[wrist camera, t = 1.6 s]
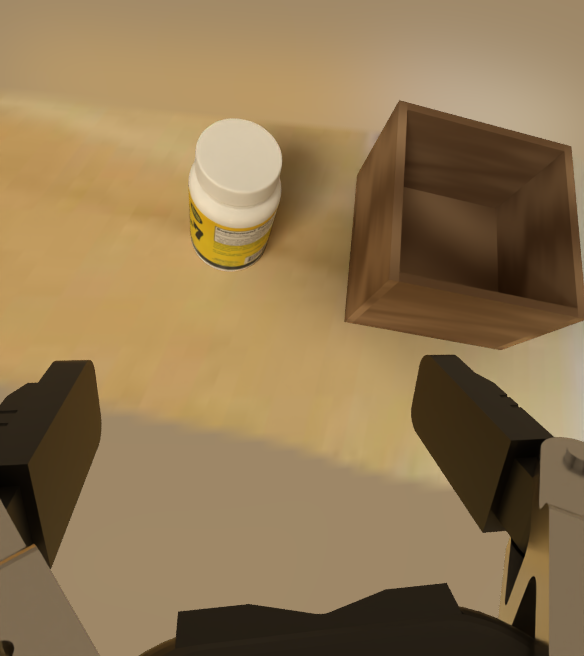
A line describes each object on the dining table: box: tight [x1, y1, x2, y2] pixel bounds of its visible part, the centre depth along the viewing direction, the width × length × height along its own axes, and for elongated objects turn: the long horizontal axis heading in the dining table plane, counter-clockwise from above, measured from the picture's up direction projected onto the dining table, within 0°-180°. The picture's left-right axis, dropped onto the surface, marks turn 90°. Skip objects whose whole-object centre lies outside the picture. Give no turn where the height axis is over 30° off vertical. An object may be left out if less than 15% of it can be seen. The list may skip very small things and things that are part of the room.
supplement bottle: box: [188, 118, 282, 271], centre depth 24 cm, size 5×5×8 cm
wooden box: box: [344, 101, 584, 350], centre depth 27 cm, size 11×11×7 cm
